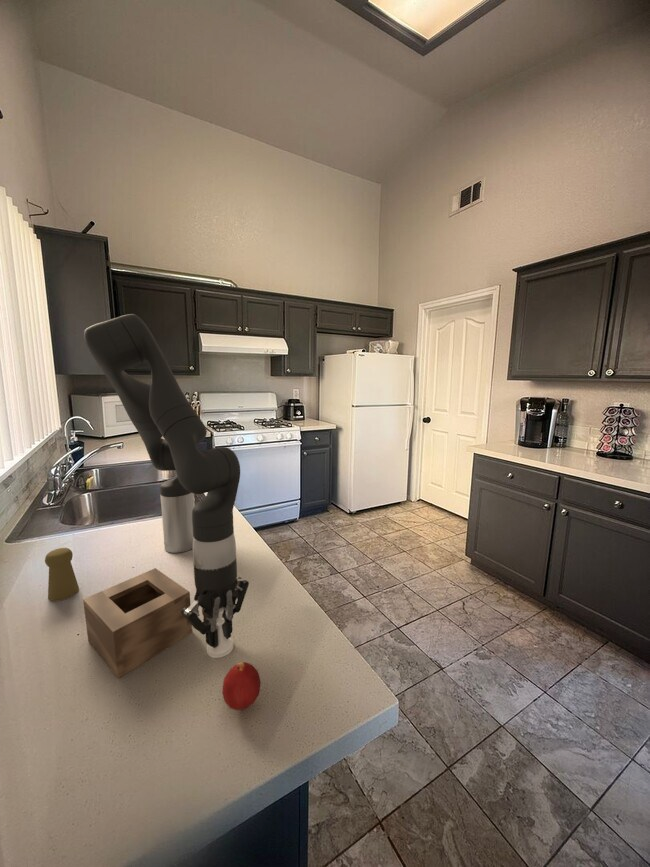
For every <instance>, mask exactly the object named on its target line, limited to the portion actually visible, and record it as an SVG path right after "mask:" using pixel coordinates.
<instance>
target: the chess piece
mask: <svg viewBox="0 0 650 867" xmlns="http://www.w3.org/2000/svg"><path fill="white" fill-rule="evenodd" d="M223 611H224V609H223V607H222V608H220V609H219V617H218V619H217V625H216V629H217V632H218V646H217V647H216V648H213V647H211V646H210V645H208V644H207V646H206V654H207V655H208V656H209V657H210V658H212V659H213V658H214V659H219V658H223V657H226V656H227V655H229V654H230V653H231V652H232V651H233V648H234V640H233V638H232V637H230V638H228V639H226V637H224V634H223V629H222V624H223V623H224V622H225V620H224V618H222V614H223Z"/></svg>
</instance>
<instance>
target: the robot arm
mask: <svg viewBox="0 0 650 867" xmlns="http://www.w3.org/2000/svg"><path fill="white" fill-rule="evenodd" d="M83 332H84V333H83V339H84V341H85V344H86V346H87V349H88V350H89V352H90V354H91V356H92V357H93V359H94V361H95V362H96V364H97V365H98V367H99V368H100V369H101V371H102V372H103V374H104V375H105V377H106V379H107V380H108V381H109V383H110V384H111V386H112V388H113V389H114V390H115V392H116V394H117V396H118V398H119V400H120V402H121V404H122V406H123V408H124V409H125V412H126V415H127V416H128V417H129V420H130V421H131V423H132V425H133V426H134V427H135V429H136V431H137V432H138V434H139V436H140V437H141V440H142V441H143V445H144V446H145V449H146V451H147V453H148V457H149V459H150V462H151V464H152V465H153V467H154V469H156V470H157V471H162V472H166V471H167V472H168V471H175V473H176V476H175V477H173V478H171V479H168V480H166V481H163V482H162V483H161V484H160V486H159V493H160V496H159V497H160V505H161V506H160V507H161V519H162V530H163V533H162V534H163V545H164V550H165V551H166V552H167V553H172V554H177V553H183V552H187V551H190V550H192V559H193V560H192V561H193V562H192V564H193V576H194V577H193V578H194V585H195V589H196V590H195V594H194V597H193V598H194V601H193V602H191V603H190V606H189V608H187V607H184V608H183V609H182V611H181V613H182V614H183V616H184V617H185V618H186V619H187V620H188V621H189V622H190V623H191V625H192V628H193V629H195V630H197V631H198V632H199V633H200V634H201V635H202V636H203V635H205V642H206V644H207V645H210V646H211V647H213V648H216V647H217V646H218V632H217V629H216V625H217V619H218V617H219V609H220V608H222V607H223V609H224V611H223V614H222V618H224V620H225V622H224V623H223V624H222V629H223V634H224V637H226V639H228V638H232V634H233V629H234V628H233V618H234V615H235V614H236V613H237V614H238V613H239V612H241V610H242V606H243V604H244V600H245V597H246V595H247V594H246V593H247V591H248V588H249V584H250V583H249V581H248V580H246V579H244V578H243V577H240V576H239V577H238V568H237V567H238V564H237V563H238V562H237V544H236V537H235V531H234V528H235V527H234V512H233V511H234V507H235V503H236V500H237V499H236V497H237V494H238V489H239V484H240V478H241V464H240V461H239V459H238V457H237V454H236V453H235V452H234V451H233V449H231V448H229V447H225V446H219V447H213V448H209V449H204V450H201V451H200V450H199V448H198V447H197V446H198V445H200V444H201V443H202V442H204V440H205V439H206V438H207V431H208V430H207V428H206V425H205V424H204V422H203V421H202V419H201V418H200V416H199V415H198V413H197V412H196V410H195V409H194V408H193V406H192V404H191V403H190V401H188V399H187V397H186V396H185V394H184V393H183V390H182V389H181V387H180V385H179V383H178V382H177V379H176V377H175V375H174V372H173V371H172V369H171V367H170V365H169V362H168V361H167V358H166V357H165V355H164V354H163V352H162V350H161V347H160V346H159V344H158V342H157V340H156V339H155V337H154V335H153V333H152V332H151V330H150V329H149V327H148V325H147V323H146V322H144V320H143V319H142V318H141V317H139V315H137V314H134V313H129V314H125V315H121V316H120V315H119V316H117V317H114V318H111V319H108V320H104V321H102V322H98V323H95V324H93V325H91V326H88V327H86V329H84V331H83ZM145 362H148V364H149V367H150V384H149V383H147V382H144V381H142V380H139V379H137V378H135V377H133V376H132V375H130V374H129V373H128V372H126V371H125V370H127V369H130V368H133V367H135V366H138V365H140V364H143V363H145ZM205 493H206V495H205V497H204V498H203V499H201V500H200V501H199V502H197V503H196V504H195V495H203V494H205ZM200 607H201V613H202V616H203V621H202V620H201V619H200V618H199V617H200V610H199V608H200Z"/></svg>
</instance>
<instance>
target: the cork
mask: <svg viewBox="0 0 650 867" xmlns="http://www.w3.org/2000/svg"><path fill="white" fill-rule="evenodd" d="M73 554H74V553H73V551H72V550H71V549H70V548H68V547H60V548H55V549H53V550H50V551H49V552H48V553H46V554H45V555H46V556H45V557H44V562H45V564H46V567H48V585H47V586H48V588H47V599H48V601H51V602H59V601H64V600H66V599H69V598H71V597H73V596H75V595H76V594H77V593H78V592H79V590H80V587H79V583H78V580H77V577H76V573H75V570H74V568H73V564H72V560H73Z"/></svg>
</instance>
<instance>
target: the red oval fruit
mask: <svg viewBox="0 0 650 867" xmlns="http://www.w3.org/2000/svg"><path fill="white" fill-rule="evenodd" d="M261 685H262V682H261V677H260V673H259V671H258V669H257V668H256V667H255V666H254V665H252V664H251V663H247V662H245V661H244V662H241V661H240V662H238V663H237V664H235V665H234V666H232V667H231V668H230V669H229V670H228V671H227V674H226V675H225V676H224V679H223V684H222V697H223V700H224V703H225V704H226V705H227V706H228V707H229V708H230V709H232V710H234V711H243V710H245V709H247V708H250V707H251V706H253V705H254V703H255V702H256V701H257V699H258V697H259V695H260V692H261Z"/></svg>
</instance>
